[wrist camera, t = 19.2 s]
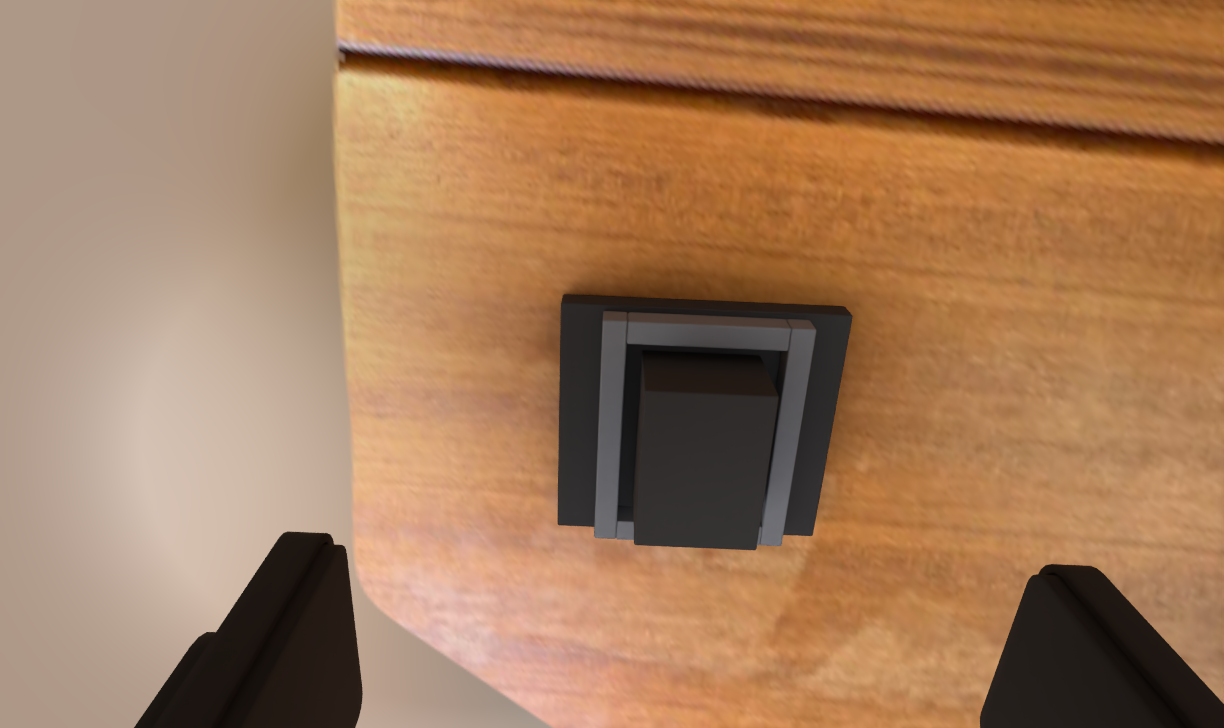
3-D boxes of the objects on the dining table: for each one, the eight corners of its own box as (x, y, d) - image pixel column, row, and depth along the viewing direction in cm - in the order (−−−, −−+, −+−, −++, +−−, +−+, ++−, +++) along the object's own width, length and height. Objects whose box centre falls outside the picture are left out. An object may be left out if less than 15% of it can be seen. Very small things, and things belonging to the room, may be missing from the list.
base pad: (559, 511, 35) (555, 541, 33) (562, 293, 31) (558, 312, 29) (807, 521, 35) (819, 552, 33) (845, 306, 31) (862, 325, 29)
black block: (632, 491, 33) (634, 545, 30) (641, 349, 31) (644, 390, 27) (741, 495, 33) (756, 550, 30) (760, 354, 31) (779, 396, 27)
